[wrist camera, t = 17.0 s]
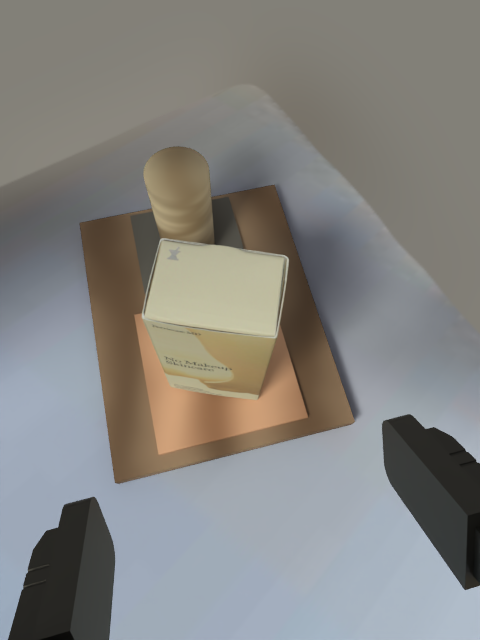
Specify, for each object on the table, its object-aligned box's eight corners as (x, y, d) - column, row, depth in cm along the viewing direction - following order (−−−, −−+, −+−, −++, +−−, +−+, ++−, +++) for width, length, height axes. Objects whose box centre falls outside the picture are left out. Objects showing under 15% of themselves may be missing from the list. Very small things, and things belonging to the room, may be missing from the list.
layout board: (118, 483, 30) (72, 472, 21) (83, 230, 37) (38, 146, 29) (351, 424, 32) (395, 392, 23) (273, 192, 39) (284, 102, 30)
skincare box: (168, 388, 31) (130, 319, 20) (181, 329, 33) (152, 233, 21) (263, 402, 31) (279, 340, 19) (271, 342, 32) (290, 252, 21)
